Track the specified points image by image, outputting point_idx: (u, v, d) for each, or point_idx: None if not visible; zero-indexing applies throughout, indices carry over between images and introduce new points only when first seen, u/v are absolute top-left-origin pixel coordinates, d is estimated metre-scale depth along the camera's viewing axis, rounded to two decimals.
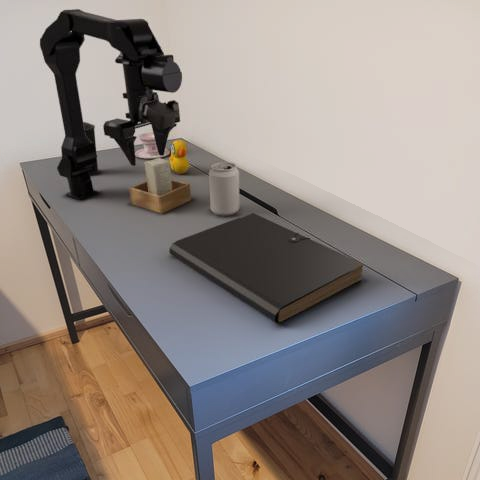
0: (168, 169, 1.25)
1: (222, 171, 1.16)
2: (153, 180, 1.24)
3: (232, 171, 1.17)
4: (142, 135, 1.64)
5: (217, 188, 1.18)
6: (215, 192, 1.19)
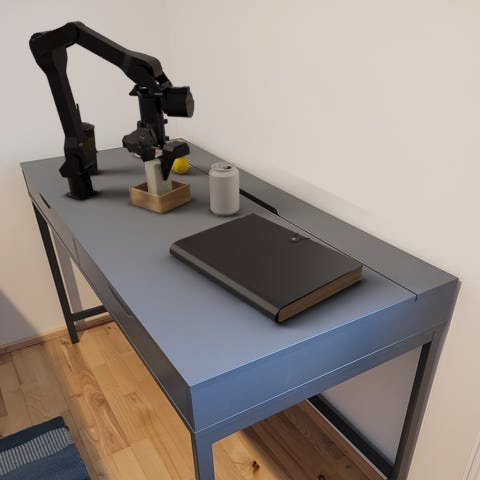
0: None
1: (222, 171, 1.16)
2: (153, 180, 1.24)
3: (232, 171, 1.17)
4: None
5: (217, 188, 1.18)
6: (215, 192, 1.19)
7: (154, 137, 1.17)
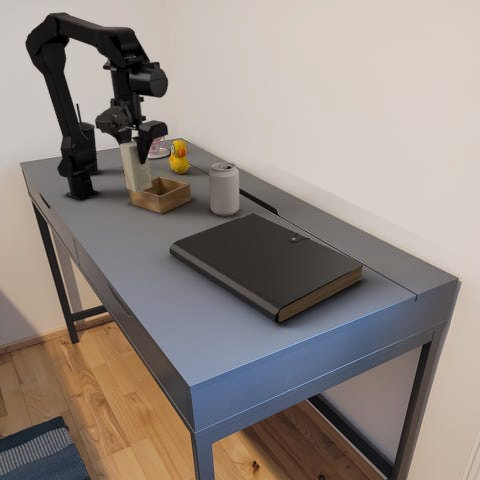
0: None
1: (222, 171, 1.16)
2: (129, 164, 1.15)
3: (232, 171, 1.17)
4: None
5: (217, 188, 1.18)
6: (215, 192, 1.19)
7: (129, 116, 1.08)
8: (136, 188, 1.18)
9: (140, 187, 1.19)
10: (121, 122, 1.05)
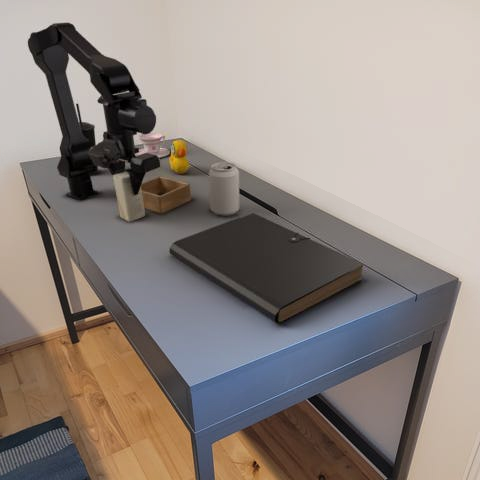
0: None
1: (222, 171, 1.16)
2: (122, 195, 1.17)
3: (232, 171, 1.17)
4: (142, 135, 1.64)
5: (217, 188, 1.18)
6: (215, 192, 1.19)
7: (122, 149, 1.09)
8: (129, 217, 1.19)
9: (133, 216, 1.20)
10: (113, 156, 1.06)
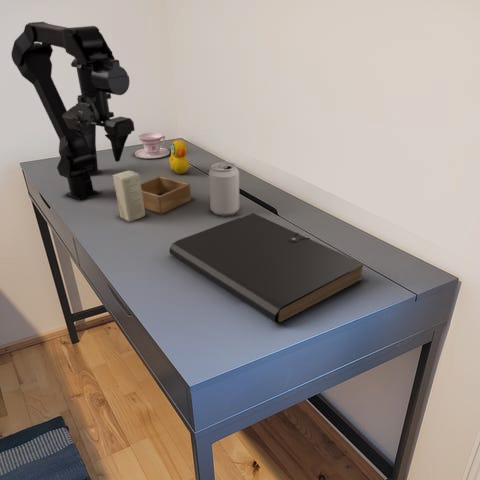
0: (138, 182, 1.17)
1: (222, 171, 1.16)
2: (122, 195, 1.17)
3: (232, 171, 1.17)
4: (142, 135, 1.64)
5: (217, 188, 1.18)
6: (215, 192, 1.19)
7: (96, 112, 1.10)
8: (129, 217, 1.19)
9: (133, 216, 1.20)
10: (86, 118, 1.07)
